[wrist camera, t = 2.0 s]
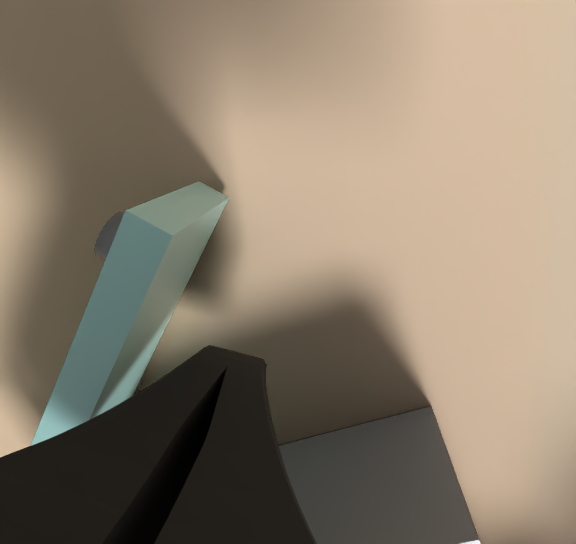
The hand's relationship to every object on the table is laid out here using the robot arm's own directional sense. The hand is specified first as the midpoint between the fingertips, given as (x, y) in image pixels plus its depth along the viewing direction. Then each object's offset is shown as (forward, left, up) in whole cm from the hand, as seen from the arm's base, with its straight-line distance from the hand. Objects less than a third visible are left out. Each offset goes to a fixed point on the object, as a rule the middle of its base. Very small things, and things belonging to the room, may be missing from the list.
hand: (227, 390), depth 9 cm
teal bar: (-3, +1, -2) cm, 4 cm away
